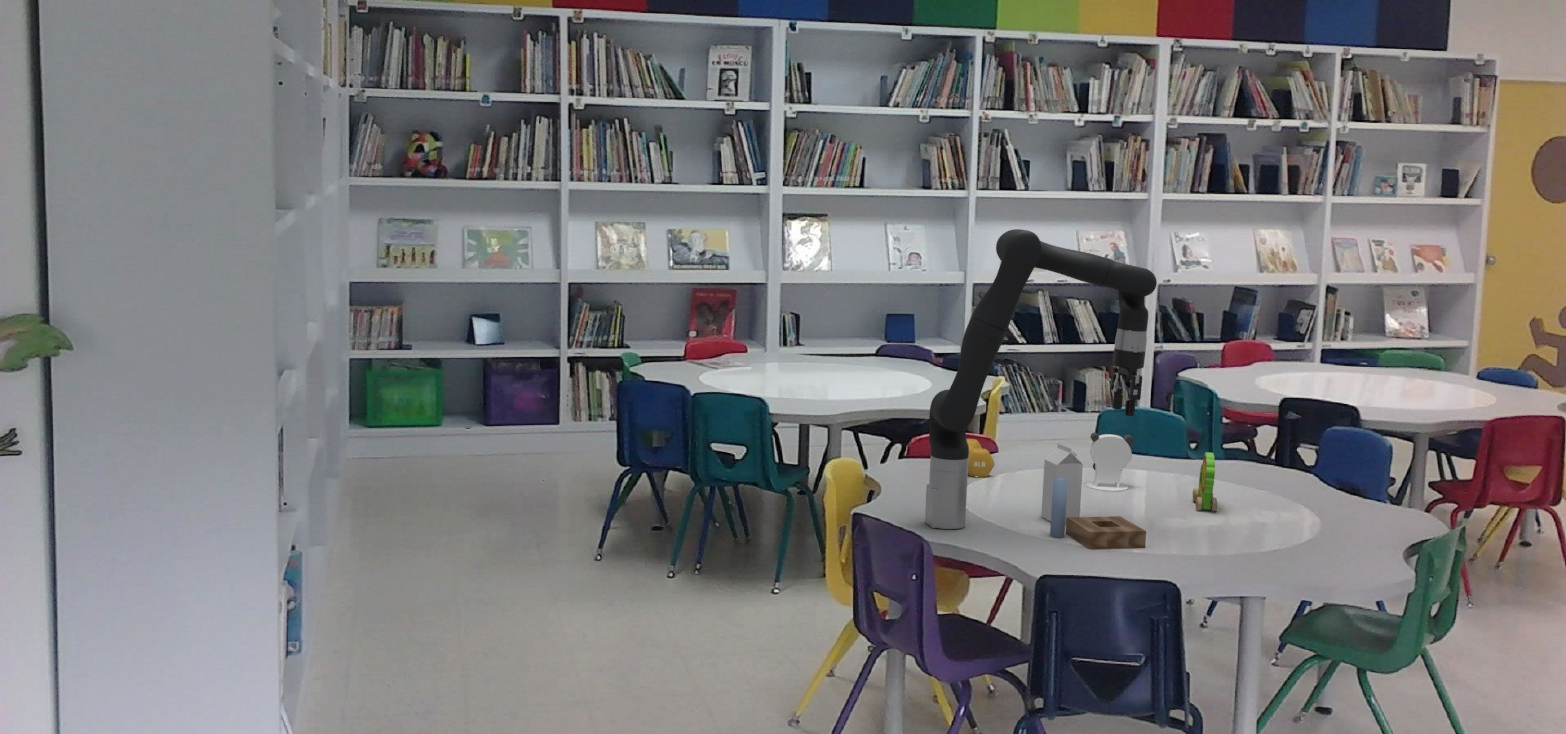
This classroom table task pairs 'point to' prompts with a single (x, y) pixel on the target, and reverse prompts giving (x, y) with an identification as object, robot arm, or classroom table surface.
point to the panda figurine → (1109, 461)
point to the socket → (1105, 532)
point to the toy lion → (1206, 485)
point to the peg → (1058, 507)
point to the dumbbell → (979, 459)
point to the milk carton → (1062, 466)
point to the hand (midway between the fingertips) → (1122, 412)
